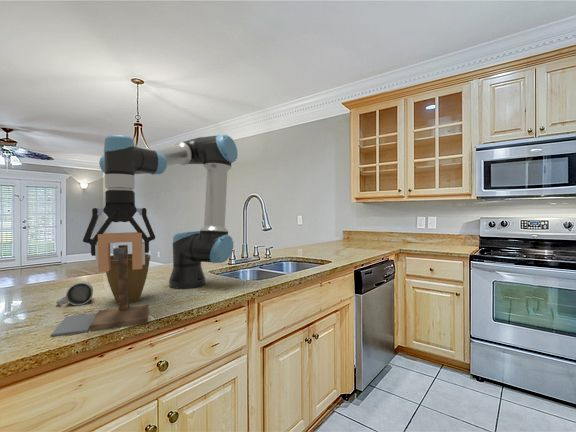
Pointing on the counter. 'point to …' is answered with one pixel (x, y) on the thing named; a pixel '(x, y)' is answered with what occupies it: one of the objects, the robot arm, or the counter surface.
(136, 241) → the orange notched block
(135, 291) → the plant pot
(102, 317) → the hook stand
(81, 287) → the ceramic mug
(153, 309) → the counter surface
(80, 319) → the mat
